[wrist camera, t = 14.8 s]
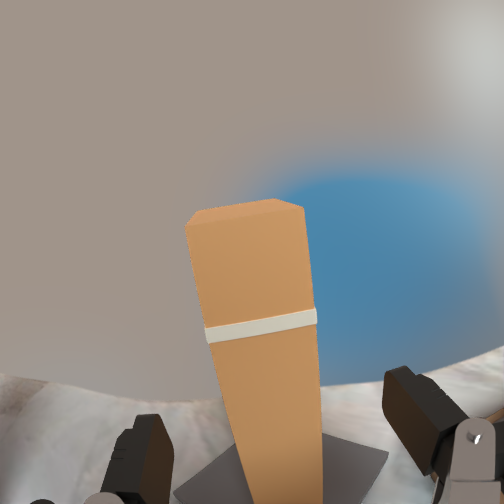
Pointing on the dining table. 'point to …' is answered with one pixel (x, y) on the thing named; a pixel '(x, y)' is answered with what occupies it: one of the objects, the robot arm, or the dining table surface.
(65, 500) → the dining table surface
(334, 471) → the pad
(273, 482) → the striped orange pillar
